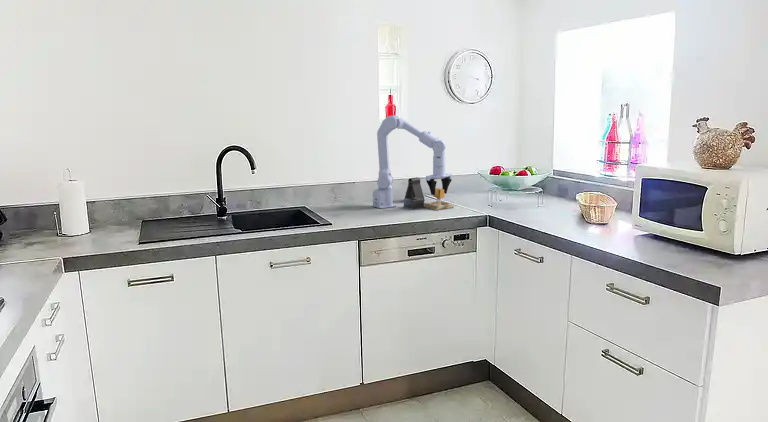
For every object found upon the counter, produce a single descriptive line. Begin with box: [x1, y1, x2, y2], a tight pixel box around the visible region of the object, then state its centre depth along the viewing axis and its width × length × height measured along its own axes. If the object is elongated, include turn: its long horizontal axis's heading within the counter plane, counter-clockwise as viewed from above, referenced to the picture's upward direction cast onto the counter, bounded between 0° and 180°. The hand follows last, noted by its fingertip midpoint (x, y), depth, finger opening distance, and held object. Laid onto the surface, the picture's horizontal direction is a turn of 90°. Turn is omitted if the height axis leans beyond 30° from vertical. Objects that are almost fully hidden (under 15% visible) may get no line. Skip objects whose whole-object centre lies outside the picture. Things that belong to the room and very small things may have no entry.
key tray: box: [424, 200, 455, 211], centre depth 277 cm, size 10×10×2 cm
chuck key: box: [432, 187, 445, 206], centre depth 276 cm, size 5×2×8 cm, turn 34°
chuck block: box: [403, 197, 425, 210], centre depth 278 cm, size 7×7×4 cm
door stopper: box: [403, 176, 426, 202], centre depth 294 cm, size 9×6×12 cm, turn 44°
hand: (438, 194), depth 275 cm, fingers open, 7 cm apart
